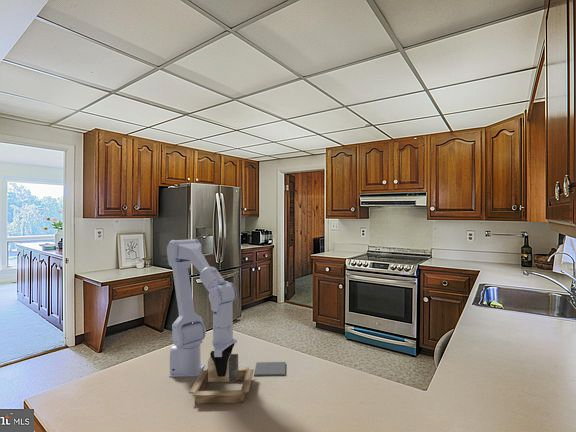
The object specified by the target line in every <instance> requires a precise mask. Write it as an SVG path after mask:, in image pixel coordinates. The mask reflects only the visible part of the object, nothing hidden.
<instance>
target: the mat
mask: <svg viewBox="0 0 576 432" xmlns="http://www.w3.org/2000/svg"><path fill="white" fill-rule="evenodd" d="M253 376H254V377H279V376H286V361H266V362H265V361H263V362H262V361H260V362H259V361H257V362H256V363H255V369H254V371H253Z"/></svg>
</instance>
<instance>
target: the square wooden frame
mask: <svg viewBox="0 0 576 432" xmlns="http://www.w3.org/2000/svg"><path fill="white" fill-rule="evenodd" d="M254 371H255V369H253V368H252V369H251V368H250V367H249V366H247V367H245V366H244V367H243V366H242V367H241V366H240V367H239V366H238V377H237V380H236V381H243V382H242V386H241V388H240V389H238V390H236V389H235V390H233V389H232V390H230V389H229V390H205V388H206V386H207V384H208V383H209V382H208V368H207V369H202V371H201V372H200V374H199V376H197V378H196V379H195V382H194V383H193V385H192V386H191V389H190V390H189V391H188V393H189V394H192V397H194V404H225V403H226V404H228V403H230V404H232V403H233V404H234V403H237V404H238V403H244V401H245V398H246V397H245V396H246V393H249V391H250V388H251V383H252V379H253V376H254Z"/></svg>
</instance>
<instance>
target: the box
mask: <svg viewBox="0 0 576 432" xmlns="http://www.w3.org/2000/svg"><path fill="white" fill-rule="evenodd" d="M238 367H239V354H238V353H231V354H230V356H229V359H228V363H227V370H226V375H225V377H218V375H217V372H216V367H215V364H214V361H213V360H212V358H211V356H209V358H208V360H207V369H208V382H207V383H216V382H217V383H218V382H219V383H220V382H223V383H224V382H237V381H238V380H237V377H238Z"/></svg>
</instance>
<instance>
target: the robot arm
mask: <svg viewBox="0 0 576 432" xmlns="http://www.w3.org/2000/svg"><path fill="white" fill-rule="evenodd" d="M202 251H203V250H202V244H201V242H200V241H199V239H197V238H192V239H176V240H175V239H171V240H170V241H169V242H168V244H167V246H166V255H167V261H168V265H169V266H170V267H171V268H172V269H171V270H172V275H173V283H174V289H175V296H176V303H177V310H178V317H177V318H176V319H175V320H174V322H173V323H172V325H171V329H172V332H171V340H172V343H173V345H172V346H171V349H170V353H169V374H168V376H169V378H171V377H172V378H173V377H175V378H176V377H177V378H179V377H180V378H181V377H182V378H183V377H185V378H186V377H189V378H190V377H198V376H199V374H200V373H201V371H202V370H204V369H203V368H205V364H204V363H203V364H201V361H202V360H201V358H202V357H201V344H203V340H205V338H206V334H207V329H206V328H207V327H206V326H205V324H204V321H203V317H202V316H200V315H199V314H197V313H196V312H195V307H194V306H195V305H194V304H195V303H194V301H193V300H194V299H193V294H192V293H193V292H192V285H191V281H190V279H191V278H190V274H189V266H190V265H191V264H192V266H194V267H195V269H196V270H197V271H198V272H199V280H200V281H201V283H202V284H203V286H204V288H205V289H206V290H207V292H208V301H209V303H210V310H211V311H212V344H211V345H212V347H213V350H211V352H210V354H209V355H210V356H211V358H212V360H213V361H214V364H215V367H216V372H217V375H218V377H225V375H226V370H227V363H228V359H229V356H230V354H233V353H232V352H233V349H234V347H235V344H237V342H238V339H237V338H234V329H233V328H234V321H233V320H234V319H233V317H234V316H233V315H234V314H233V312H234V311H233V305H234V304H233V302H235V301H236V299H237V294H238V293H237V288H236V286H235V285H234V283H233V282H229V281H228V280H225V279H224V277H223V276H222V275H221V273H220V272H219V271H218V269H217V267H215V266H210V264H209V263H208V261H207V259H206V257H205V255H204V254H203V252H202ZM210 356H209V357H210Z"/></svg>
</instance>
